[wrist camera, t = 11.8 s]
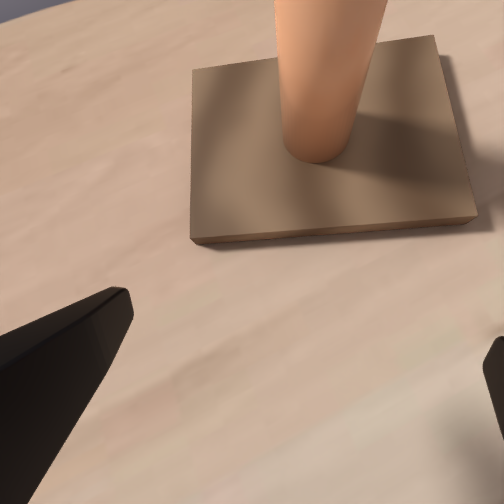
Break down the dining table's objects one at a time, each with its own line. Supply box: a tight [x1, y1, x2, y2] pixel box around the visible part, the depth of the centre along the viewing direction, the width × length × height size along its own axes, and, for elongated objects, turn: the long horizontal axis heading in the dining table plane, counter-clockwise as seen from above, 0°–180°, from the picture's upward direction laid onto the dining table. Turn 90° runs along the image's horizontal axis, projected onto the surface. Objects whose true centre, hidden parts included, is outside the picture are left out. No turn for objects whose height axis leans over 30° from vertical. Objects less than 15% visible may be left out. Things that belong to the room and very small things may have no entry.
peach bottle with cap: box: [274, 0, 388, 163], centre depth 15 cm, size 5×5×14 cm
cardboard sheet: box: [190, 35, 478, 244], centre depth 22 cm, size 18×14×2 cm
